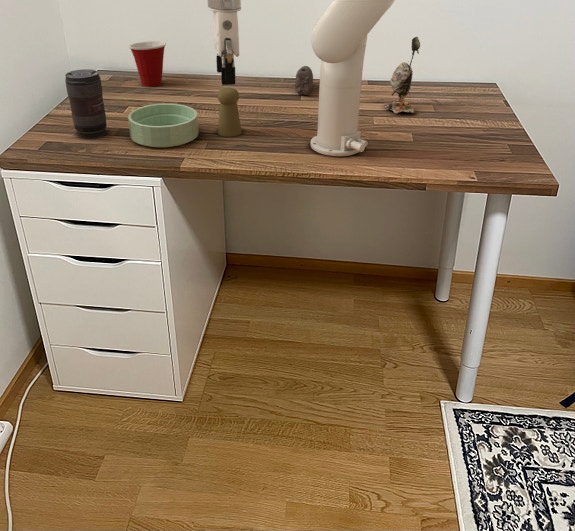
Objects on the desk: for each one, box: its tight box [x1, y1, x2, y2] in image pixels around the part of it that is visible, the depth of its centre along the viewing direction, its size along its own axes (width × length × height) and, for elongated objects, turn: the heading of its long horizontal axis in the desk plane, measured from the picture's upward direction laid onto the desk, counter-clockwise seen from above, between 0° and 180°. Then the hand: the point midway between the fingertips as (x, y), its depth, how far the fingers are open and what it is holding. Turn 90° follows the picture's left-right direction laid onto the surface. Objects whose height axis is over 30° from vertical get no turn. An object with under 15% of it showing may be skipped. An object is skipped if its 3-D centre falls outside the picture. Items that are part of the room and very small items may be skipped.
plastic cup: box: [128, 40, 167, 88], centre depth 186 cm, size 11×11×12 cm
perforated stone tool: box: [294, 65, 314, 96], centre depth 185 cm, size 15×5×7 cm, turn 174°
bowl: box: [127, 103, 200, 148], centre depth 153 cm, size 17×17×6 cm
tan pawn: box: [217, 87, 242, 138], centre depth 154 cm, size 6×6×11 cm
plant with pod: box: [383, 36, 421, 114], centre depth 168 cm, size 8×11×20 cm
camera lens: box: [64, 68, 107, 140], centre depth 151 cm, size 8×8×15 cm
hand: (225, 78), depth 150 cm, fingers open, 9 cm apart
